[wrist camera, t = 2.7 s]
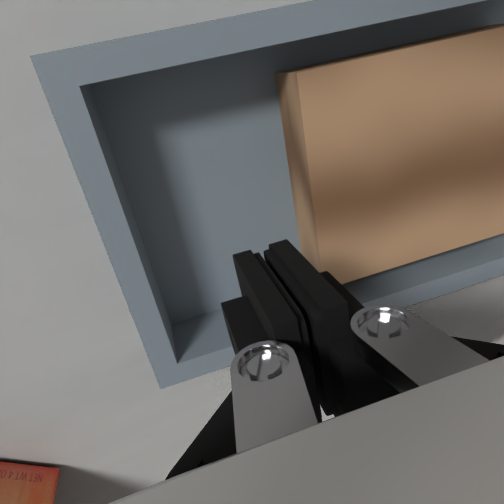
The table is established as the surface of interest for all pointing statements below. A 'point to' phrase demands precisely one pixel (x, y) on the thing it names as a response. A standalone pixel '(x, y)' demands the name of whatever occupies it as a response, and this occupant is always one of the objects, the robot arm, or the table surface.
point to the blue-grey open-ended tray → (224, 159)
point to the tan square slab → (396, 151)
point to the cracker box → (27, 483)
